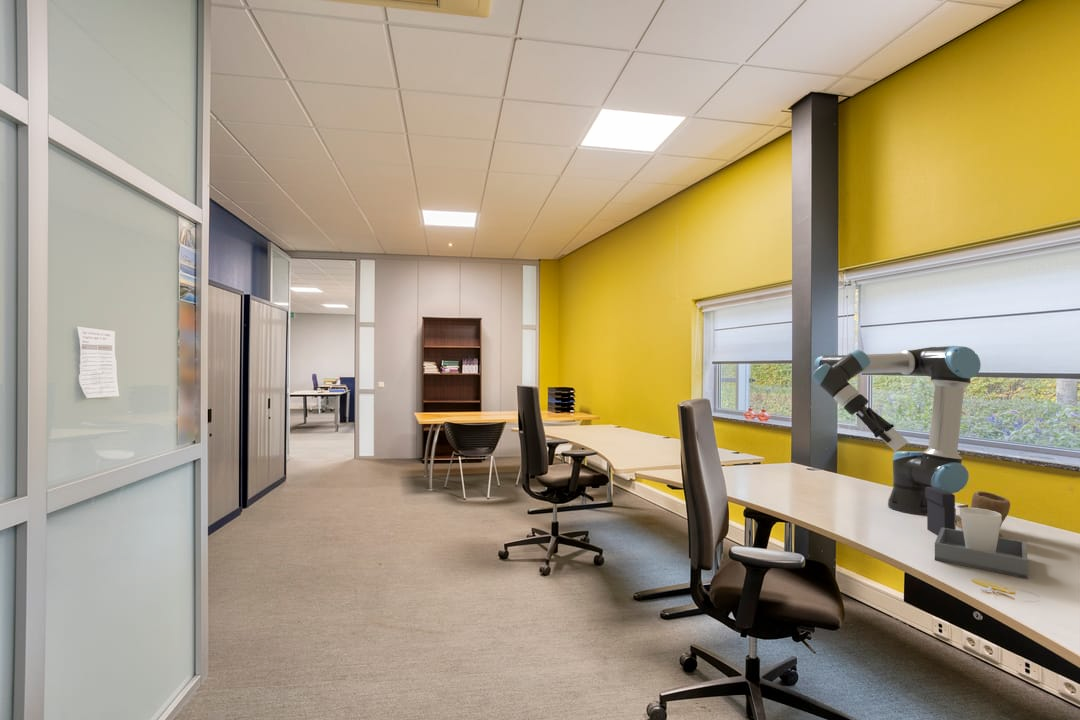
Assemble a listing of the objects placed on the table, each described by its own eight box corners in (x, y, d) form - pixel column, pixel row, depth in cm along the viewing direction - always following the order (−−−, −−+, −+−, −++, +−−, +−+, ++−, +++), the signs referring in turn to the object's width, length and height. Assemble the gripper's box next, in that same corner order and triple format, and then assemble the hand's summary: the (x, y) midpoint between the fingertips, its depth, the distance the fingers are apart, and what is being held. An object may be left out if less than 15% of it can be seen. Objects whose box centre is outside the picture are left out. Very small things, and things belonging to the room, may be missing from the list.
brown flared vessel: (1015, 547, 165) (1015, 499, 165) (968, 541, 170) (968, 495, 170) (999, 533, 178) (999, 489, 178) (956, 528, 184) (956, 485, 184)
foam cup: (1009, 562, 149) (1009, 517, 149) (973, 560, 150) (973, 515, 150) (986, 550, 158) (986, 508, 158) (952, 549, 160) (952, 506, 160)
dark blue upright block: (957, 540, 171) (957, 494, 171) (942, 539, 171) (942, 494, 172) (939, 530, 181) (939, 487, 181) (925, 529, 182) (925, 486, 182)
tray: (941, 542, 168) (941, 527, 168) (1026, 558, 155) (1026, 541, 155) (934, 559, 154) (934, 542, 154) (1027, 579, 140) (1027, 560, 140)
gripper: (850, 405, 198) (898, 449, 187) (834, 409, 179) (886, 458, 169) (867, 391, 194) (916, 436, 184) (851, 394, 176) (905, 443, 165)
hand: (902, 446), depth 176 cm, fingers open, 13 cm apart
